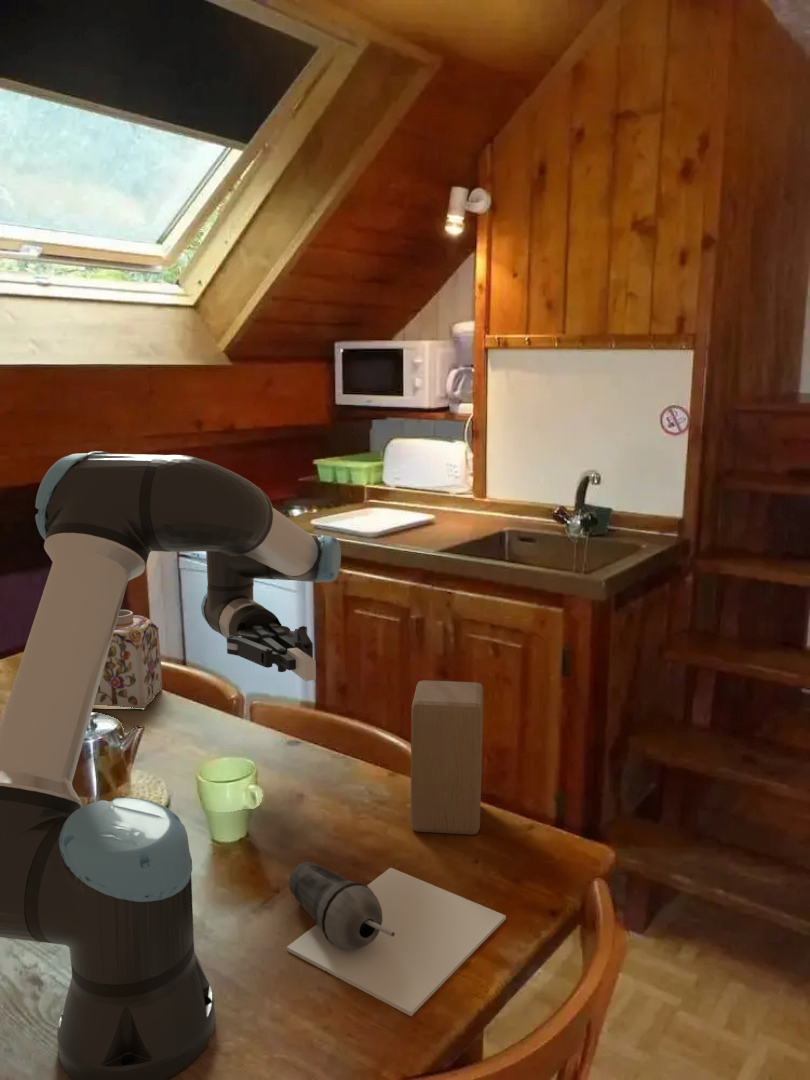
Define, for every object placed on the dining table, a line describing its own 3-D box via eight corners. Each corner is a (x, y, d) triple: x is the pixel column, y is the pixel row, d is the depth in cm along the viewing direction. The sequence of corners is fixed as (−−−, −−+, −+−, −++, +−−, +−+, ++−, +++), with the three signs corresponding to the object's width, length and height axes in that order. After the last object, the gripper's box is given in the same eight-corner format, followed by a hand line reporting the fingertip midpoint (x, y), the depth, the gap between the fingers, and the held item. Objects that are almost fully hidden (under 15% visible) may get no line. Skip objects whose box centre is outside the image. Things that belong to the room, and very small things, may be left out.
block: (480, 803, 135) (483, 680, 131) (479, 837, 125) (482, 706, 121) (415, 799, 136) (417, 677, 132) (409, 833, 126) (410, 702, 122)
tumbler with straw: (270, 904, 108) (351, 976, 91) (290, 845, 109) (373, 906, 93) (318, 912, 112) (405, 983, 95) (337, 856, 113) (426, 916, 96)
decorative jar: (107, 687, 181) (102, 603, 178) (163, 689, 181) (159, 604, 177) (84, 710, 170) (78, 621, 166) (144, 711, 169) (139, 622, 166)
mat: (411, 1016, 91) (411, 1012, 91) (287, 950, 101) (286, 946, 101) (505, 919, 107) (505, 915, 107) (390, 870, 117) (390, 867, 117)
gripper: (289, 644, 142) (354, 689, 122) (211, 656, 135) (265, 705, 115) (289, 599, 140) (354, 637, 120) (209, 609, 134) (264, 650, 114)
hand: (310, 670), depth 118 cm, fingers closed
